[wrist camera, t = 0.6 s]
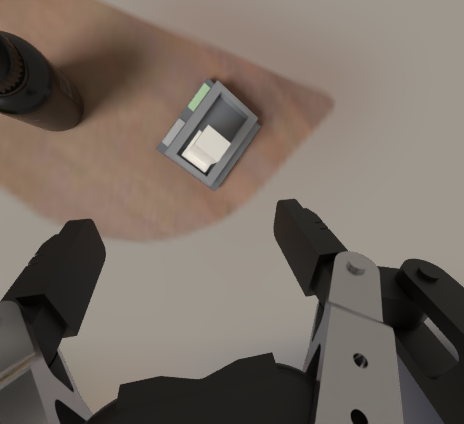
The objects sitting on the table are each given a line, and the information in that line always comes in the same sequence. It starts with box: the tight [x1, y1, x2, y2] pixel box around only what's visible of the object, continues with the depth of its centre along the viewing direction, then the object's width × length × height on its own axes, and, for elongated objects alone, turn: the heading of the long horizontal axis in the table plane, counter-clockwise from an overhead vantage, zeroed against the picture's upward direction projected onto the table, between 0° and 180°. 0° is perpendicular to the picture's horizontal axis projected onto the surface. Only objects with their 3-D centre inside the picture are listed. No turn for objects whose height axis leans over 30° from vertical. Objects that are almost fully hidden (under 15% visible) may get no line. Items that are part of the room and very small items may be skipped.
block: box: [181, 125, 231, 173], centre depth 27 cm, size 4×4×9 cm
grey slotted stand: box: [157, 78, 260, 191], centre depth 32 cm, size 10×12×3 cm
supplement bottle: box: [0, 31, 83, 131], centre depth 22 cm, size 7×7×12 cm
